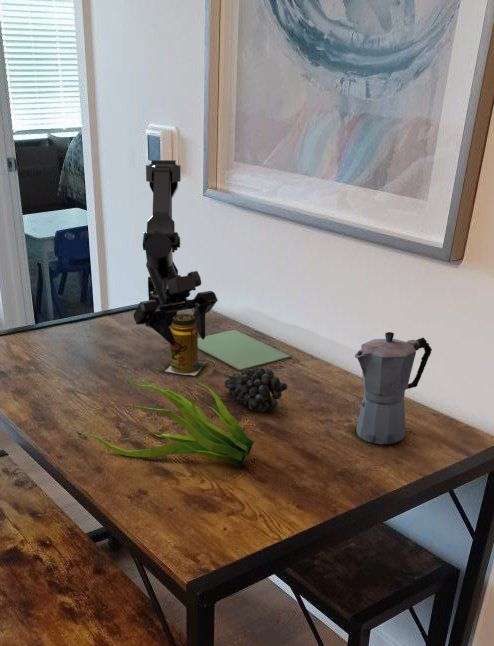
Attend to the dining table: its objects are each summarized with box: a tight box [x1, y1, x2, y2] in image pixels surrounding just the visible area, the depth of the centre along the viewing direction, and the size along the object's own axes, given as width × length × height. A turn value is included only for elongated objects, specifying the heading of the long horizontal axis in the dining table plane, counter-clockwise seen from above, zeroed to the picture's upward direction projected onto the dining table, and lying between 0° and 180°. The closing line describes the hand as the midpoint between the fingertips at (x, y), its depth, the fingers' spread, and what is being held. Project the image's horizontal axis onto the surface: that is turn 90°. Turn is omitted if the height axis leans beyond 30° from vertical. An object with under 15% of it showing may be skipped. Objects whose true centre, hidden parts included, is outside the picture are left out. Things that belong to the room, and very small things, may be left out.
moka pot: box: [354, 331, 433, 445], centre depth 127 cm, size 10×15×20 cm, turn 113°
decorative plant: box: [65, 365, 254, 468], centre depth 121 cm, size 18×30×15 cm, turn 51°
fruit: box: [224, 366, 288, 413], centre depth 142 cm, size 9×8×15 cm
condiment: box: [165, 313, 208, 377], centre depth 156 cm, size 7×8×12 cm
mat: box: [198, 329, 291, 372], centre depth 169 cm, size 22×15×1 cm
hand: (188, 341), depth 155 cm, fingers open, 7 cm apart
